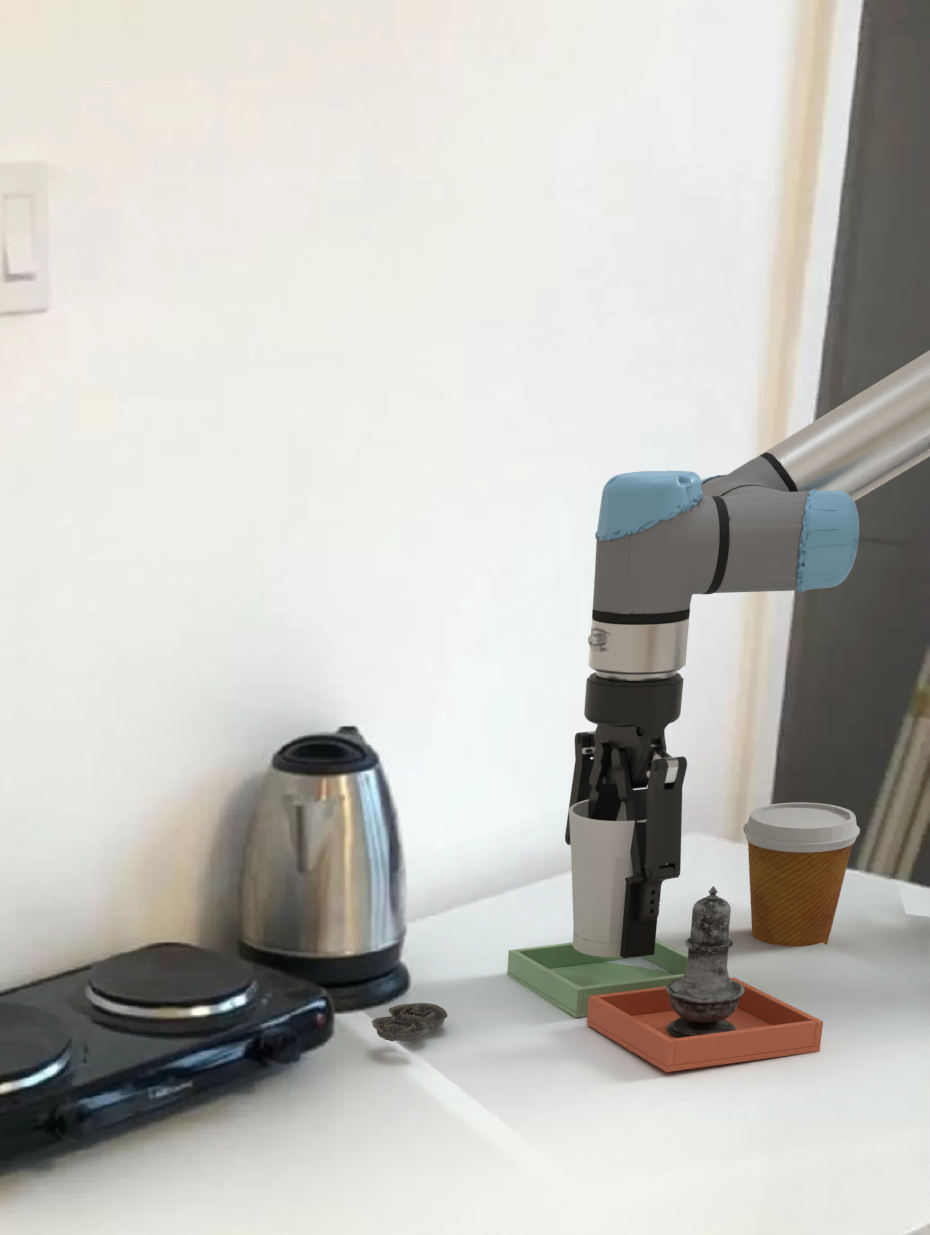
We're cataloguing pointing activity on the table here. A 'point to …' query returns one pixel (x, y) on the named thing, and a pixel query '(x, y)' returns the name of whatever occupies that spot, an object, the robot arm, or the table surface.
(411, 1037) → the corroded twin loop
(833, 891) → the disposable coffee cup
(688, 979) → the salt shaker
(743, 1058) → the terracotta tray
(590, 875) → the cup
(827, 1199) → the table surface
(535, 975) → the green tray
